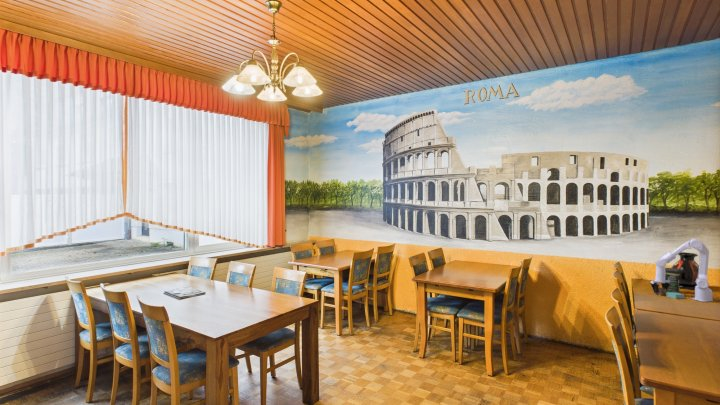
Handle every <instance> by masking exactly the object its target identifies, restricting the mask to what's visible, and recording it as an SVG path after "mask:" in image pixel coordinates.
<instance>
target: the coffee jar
mask: <svg viewBox="0 0 720 405" xmlns="http://www.w3.org/2000/svg"><path fill="white" fill-rule="evenodd" d="M679 276H680V271H679V269H675V268H671V267H665V280H669V281H670V283H668V284H670V286H669V287H668V289H667V291H666V292H676V293H680V288H679Z"/></svg>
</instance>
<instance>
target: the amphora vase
mask: <svg viewBox="0 0 720 405" xmlns="http://www.w3.org/2000/svg"><path fill="white" fill-rule="evenodd" d="M677 256H679V260H677V261H676V262H675V263H673V264H672V265H671V267H670V268H675V269H679V271H680V276H679V289H683V290H690V291H691V290H693V291H695V286H697V284H696V279H697V278H698V272H699V263H697V261H696V260H695V258H696V257H698V256H699V254H698V253H693V252H684V251H682V252H680V253H679V254H677Z"/></svg>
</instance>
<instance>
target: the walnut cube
mask: <svg viewBox="0 0 720 405" xmlns="http://www.w3.org/2000/svg"><path fill="white" fill-rule="evenodd" d="M653 295H657V296H658V297H665V296H666V289H664V288H662V287H660V286H659V287H658V292H657V293H654V292H653ZM666 297H667V296H666Z"/></svg>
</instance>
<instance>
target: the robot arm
mask: <svg viewBox="0 0 720 405" xmlns="http://www.w3.org/2000/svg"><path fill="white" fill-rule="evenodd" d="M692 248H693V249H694V250H697V251H698V252H699V261H698V265H699V272H698V278H697V279H696V284H697V286H695V290H694V297H691V300H694V301H699V302H701V303H703V302H714V300H713V290H712V289H711V288H709V286H710V285H709V284H710V283H709V282H708V268H709V258H710V257H709V255H710V250H709V249H708V247H707V246H706V245H705V244H704V243H703V241H701V240H700V239H698V238H693V237H692V238H690V239H689V240H687V241H685V242H683V243H682V244H681V245H680V246H678V247H677V248H675V250H673V251H669V252H665V254H664V255H662V256H660V257H659V258H657V259H656V261H655V264H656V266H655V279H654V280H650V283H649V285H651V288H652V289H653V291H652V292H653V294H654V293H657V292H658V287H660V284H661V288H664V289H666V291H667V289H668V287H669V286H670V284H668V283H670V281H669V280H665V268H666V266H667V264H669V263H670V262H672V261H674V260H675V259H676V258H677V256H678V254H679V253H680V252H684V251H685V250H688V249H689V250H690V249H692Z"/></svg>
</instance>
